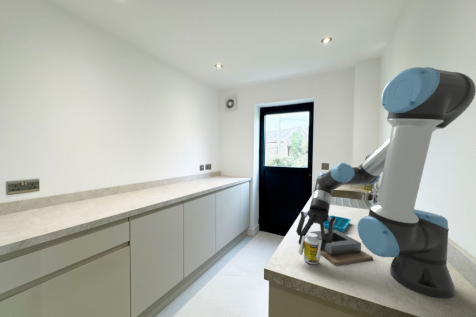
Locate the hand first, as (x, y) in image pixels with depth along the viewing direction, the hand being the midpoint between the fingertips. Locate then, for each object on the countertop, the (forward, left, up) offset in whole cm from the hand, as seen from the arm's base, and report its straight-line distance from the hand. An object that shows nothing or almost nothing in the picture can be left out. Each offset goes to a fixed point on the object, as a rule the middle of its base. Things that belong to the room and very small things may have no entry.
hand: (308, 256), depth 70 cm
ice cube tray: (+32, -41, -4) cm, 52 cm away
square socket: (+9, -19, -4) cm, 21 cm away
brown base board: (+9, -19, -4) cm, 21 cm away
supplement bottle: (+2, -3, -4) cm, 5 cm away
